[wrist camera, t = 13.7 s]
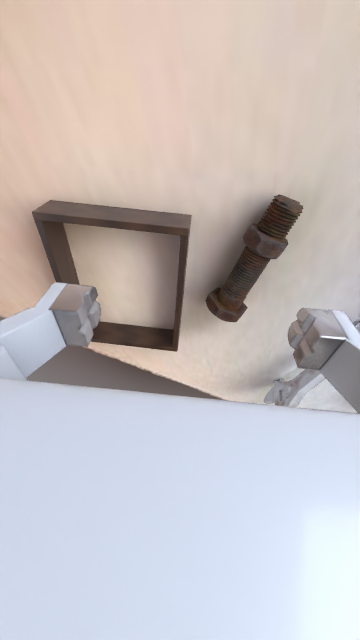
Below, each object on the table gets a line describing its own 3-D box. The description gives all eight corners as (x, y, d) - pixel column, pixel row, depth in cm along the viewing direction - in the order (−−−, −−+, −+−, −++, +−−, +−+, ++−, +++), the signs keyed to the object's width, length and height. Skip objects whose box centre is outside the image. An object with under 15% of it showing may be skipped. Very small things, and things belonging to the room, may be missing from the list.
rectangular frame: (85, 323, 41) (76, 340, 38) (50, 200, 27) (31, 211, 24) (179, 333, 41) (177, 351, 38) (191, 215, 27) (189, 228, 24)
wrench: (386, 289, 35) (263, 398, 51) (377, 285, 34) (256, 395, 51) (431, 323, 28) (273, 434, 45) (420, 317, 28) (265, 432, 45)
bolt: (287, 193, 26) (226, 295, 36) (256, 182, 24) (199, 295, 33) (326, 217, 23) (247, 322, 32) (295, 208, 20) (219, 325, 30)
